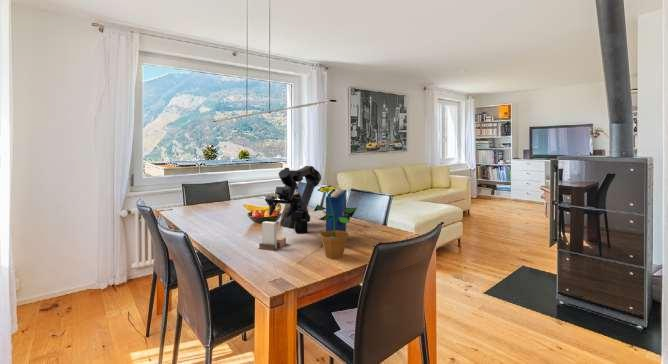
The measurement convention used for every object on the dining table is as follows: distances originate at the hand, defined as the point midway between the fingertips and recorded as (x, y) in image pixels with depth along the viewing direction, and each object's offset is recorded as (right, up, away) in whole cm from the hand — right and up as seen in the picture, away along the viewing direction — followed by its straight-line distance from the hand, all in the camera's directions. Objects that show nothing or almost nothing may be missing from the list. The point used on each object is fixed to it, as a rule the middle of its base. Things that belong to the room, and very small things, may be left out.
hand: (278, 216), depth 165 cm
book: (+27, -13, +9) cm, 32 cm away
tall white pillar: (-3, -14, -7) cm, 16 cm away
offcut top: (-1, -12, -1) cm, 12 cm away
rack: (-2, -14, -4) cm, 15 cm away
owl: (+1, -10, +40) cm, 41 cm away
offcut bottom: (-1, -13, -1) cm, 13 cm away
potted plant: (+27, -16, -16) cm, 35 cm away
